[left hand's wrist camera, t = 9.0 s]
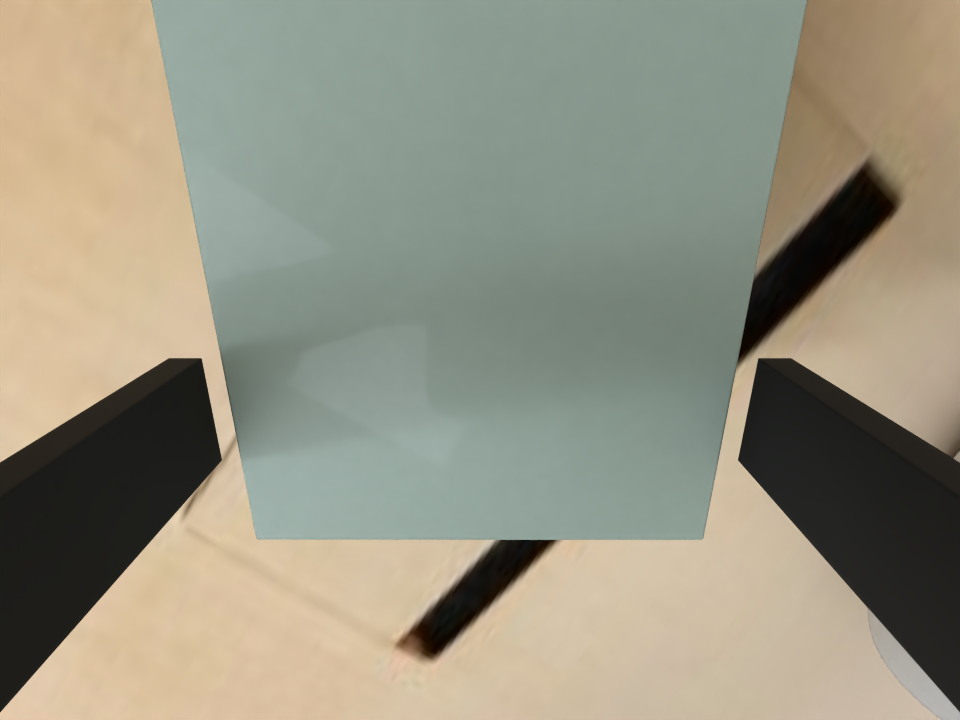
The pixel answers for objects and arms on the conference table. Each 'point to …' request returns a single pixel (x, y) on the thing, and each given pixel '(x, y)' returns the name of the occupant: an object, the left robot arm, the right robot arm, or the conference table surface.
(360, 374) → the cabinet
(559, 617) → the conference table surface
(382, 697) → the conference table surface
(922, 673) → the projector
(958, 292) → the conference table surface
